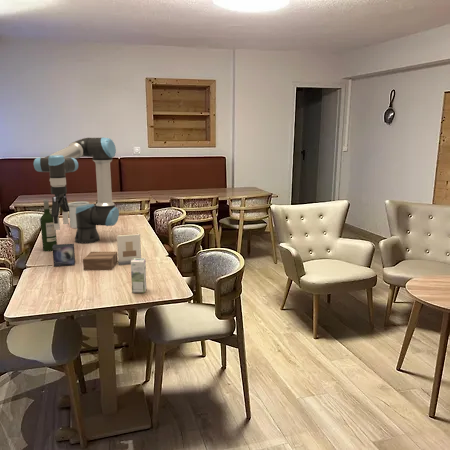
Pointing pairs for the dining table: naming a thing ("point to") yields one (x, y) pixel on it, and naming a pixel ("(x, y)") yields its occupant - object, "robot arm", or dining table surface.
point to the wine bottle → (47, 228)
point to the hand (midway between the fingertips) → (61, 226)
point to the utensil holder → (74, 212)
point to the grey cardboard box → (128, 248)
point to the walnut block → (100, 261)
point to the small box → (63, 254)
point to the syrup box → (138, 275)
